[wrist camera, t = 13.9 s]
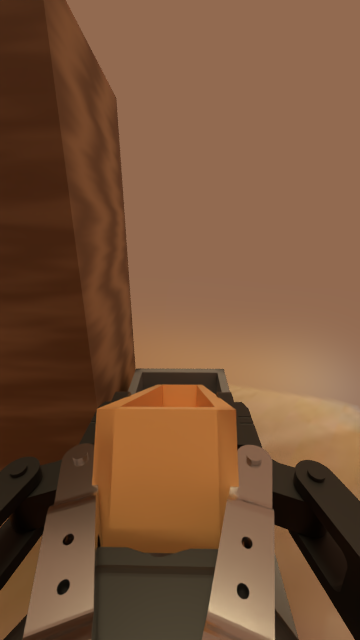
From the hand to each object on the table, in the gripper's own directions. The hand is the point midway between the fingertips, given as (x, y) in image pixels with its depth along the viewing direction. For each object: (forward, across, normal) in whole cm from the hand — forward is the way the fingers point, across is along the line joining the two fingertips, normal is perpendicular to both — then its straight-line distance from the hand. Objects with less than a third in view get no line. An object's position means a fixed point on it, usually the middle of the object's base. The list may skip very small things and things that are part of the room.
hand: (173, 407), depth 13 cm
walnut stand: (+12, +13, +11) cm, 21 cm away
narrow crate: (+2, 0, +5) cm, 5 cm away
